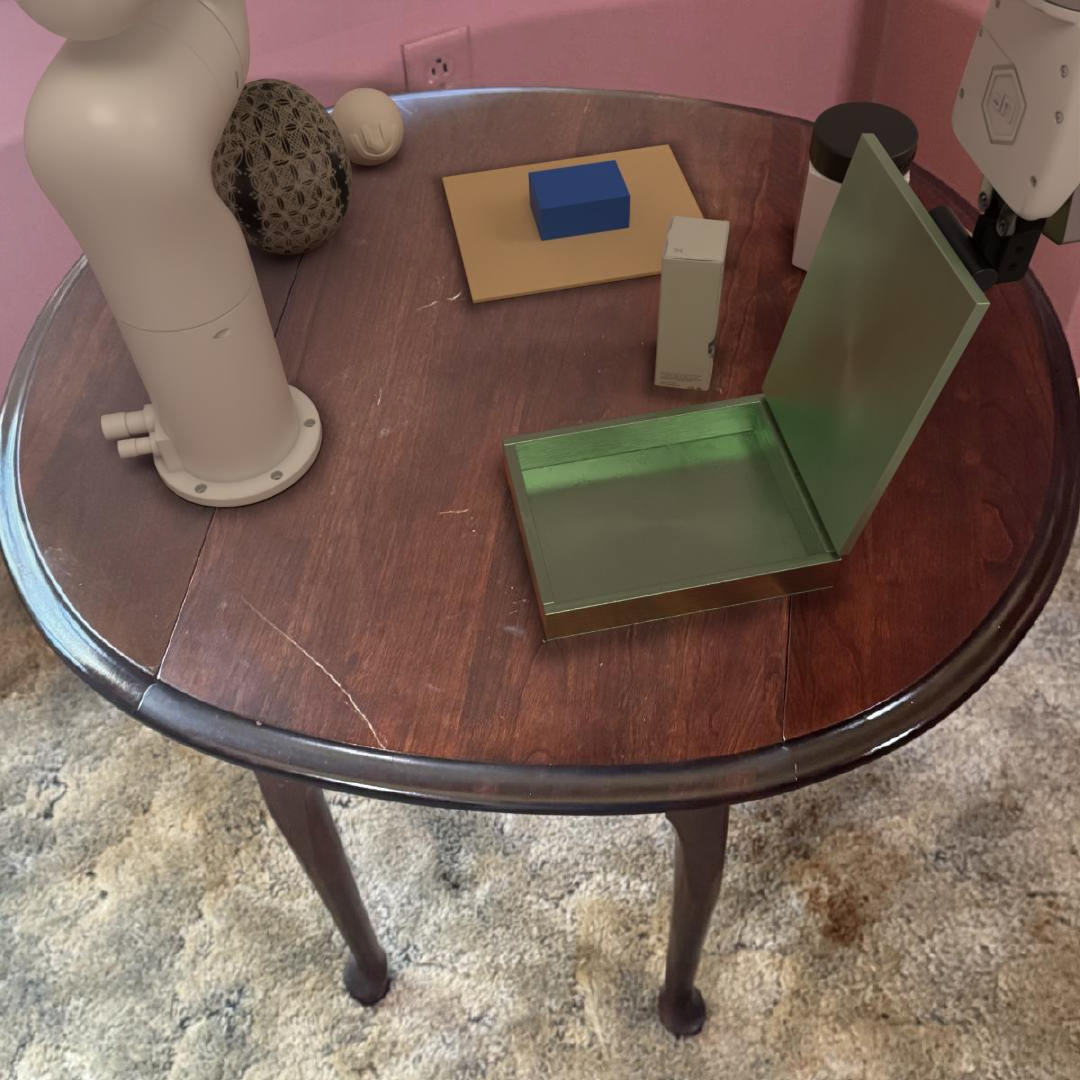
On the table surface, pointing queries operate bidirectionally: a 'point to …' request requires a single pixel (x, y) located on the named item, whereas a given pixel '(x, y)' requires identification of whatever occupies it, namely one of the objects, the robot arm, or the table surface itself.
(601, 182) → the block
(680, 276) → the box
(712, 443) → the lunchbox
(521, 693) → the table surface
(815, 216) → the jar
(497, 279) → the placemat
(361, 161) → the cream embossed ball
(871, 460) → the lunchbox lid
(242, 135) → the decorative egg
